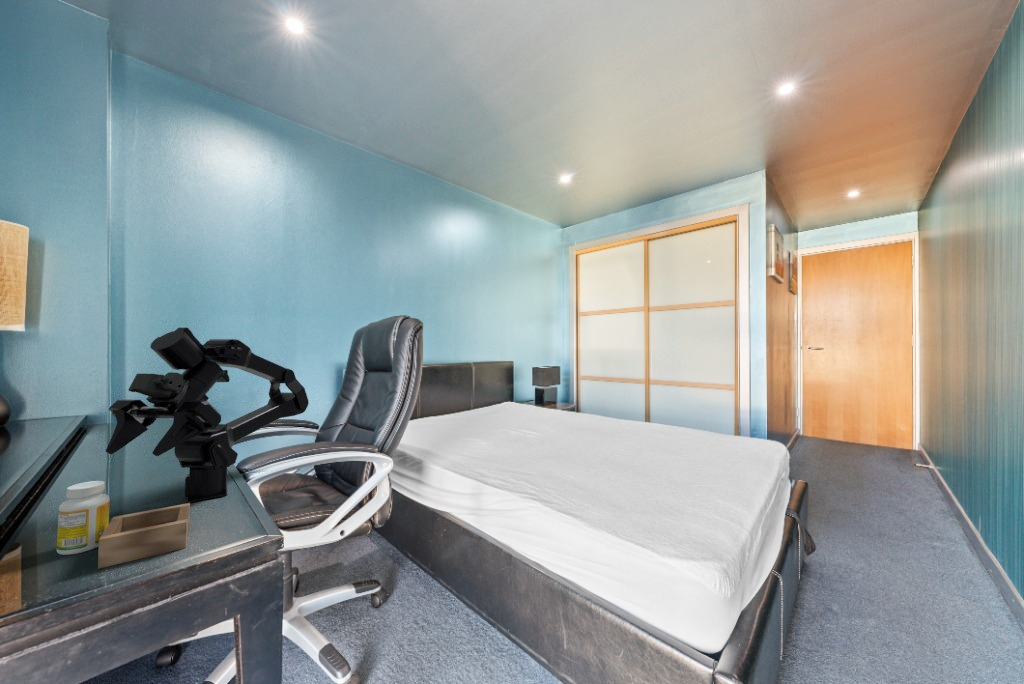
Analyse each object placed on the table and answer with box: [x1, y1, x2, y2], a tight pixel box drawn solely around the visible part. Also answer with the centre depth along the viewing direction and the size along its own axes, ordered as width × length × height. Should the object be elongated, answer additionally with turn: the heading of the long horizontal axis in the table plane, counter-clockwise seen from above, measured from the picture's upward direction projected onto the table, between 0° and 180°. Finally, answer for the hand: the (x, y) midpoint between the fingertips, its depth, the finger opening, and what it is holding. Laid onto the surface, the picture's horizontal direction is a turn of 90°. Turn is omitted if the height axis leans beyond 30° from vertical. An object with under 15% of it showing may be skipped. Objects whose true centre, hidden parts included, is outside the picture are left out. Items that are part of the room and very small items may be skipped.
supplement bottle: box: [56, 480, 111, 556], centre depth 59 cm, size 5×5×10 cm
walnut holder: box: [97, 502, 191, 570], centre depth 60 cm, size 9×9×4 cm
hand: (131, 453), depth 66 cm, fingers open, 9 cm apart
